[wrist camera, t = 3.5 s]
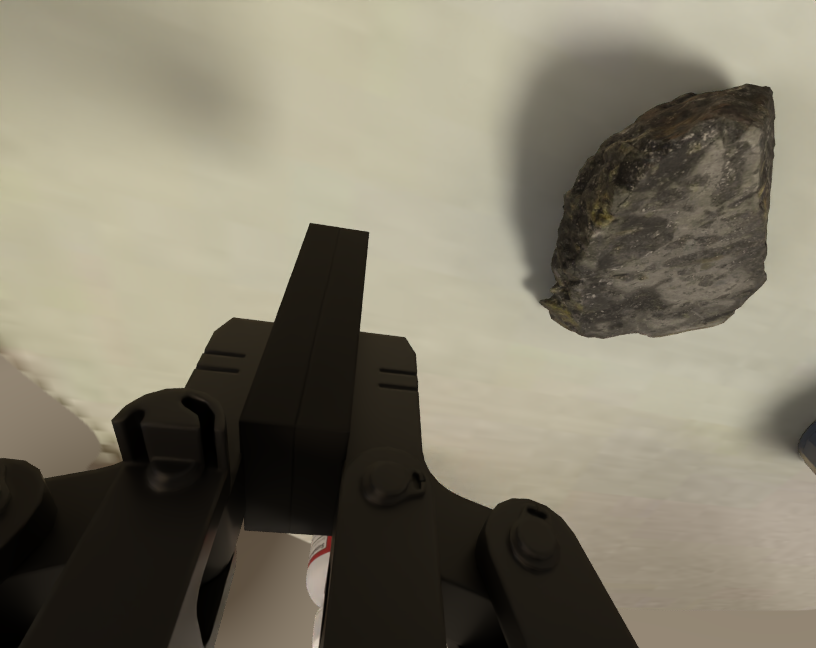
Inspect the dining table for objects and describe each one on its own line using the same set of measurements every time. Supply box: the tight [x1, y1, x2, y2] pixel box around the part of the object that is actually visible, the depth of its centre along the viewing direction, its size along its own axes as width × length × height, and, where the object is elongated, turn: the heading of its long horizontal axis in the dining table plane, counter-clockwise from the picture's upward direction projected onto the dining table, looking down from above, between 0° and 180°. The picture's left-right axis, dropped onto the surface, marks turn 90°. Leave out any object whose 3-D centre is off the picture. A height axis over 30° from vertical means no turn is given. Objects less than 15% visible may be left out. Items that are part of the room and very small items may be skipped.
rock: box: [539, 84, 775, 339], centre depth 18 cm, size 9×11×6 cm
